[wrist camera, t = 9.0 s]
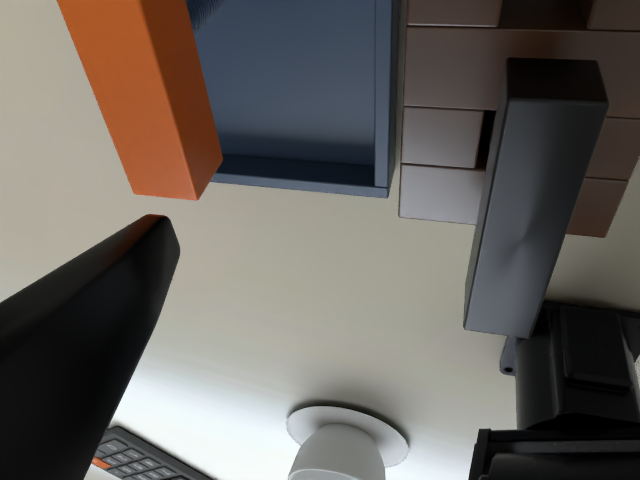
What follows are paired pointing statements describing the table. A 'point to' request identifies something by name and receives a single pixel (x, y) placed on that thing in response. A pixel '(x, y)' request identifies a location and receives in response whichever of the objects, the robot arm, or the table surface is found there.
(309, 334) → the table surface
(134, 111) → the t handle
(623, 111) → the rack
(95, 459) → the calculator
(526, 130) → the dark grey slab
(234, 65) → the tray
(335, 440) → the teacup
